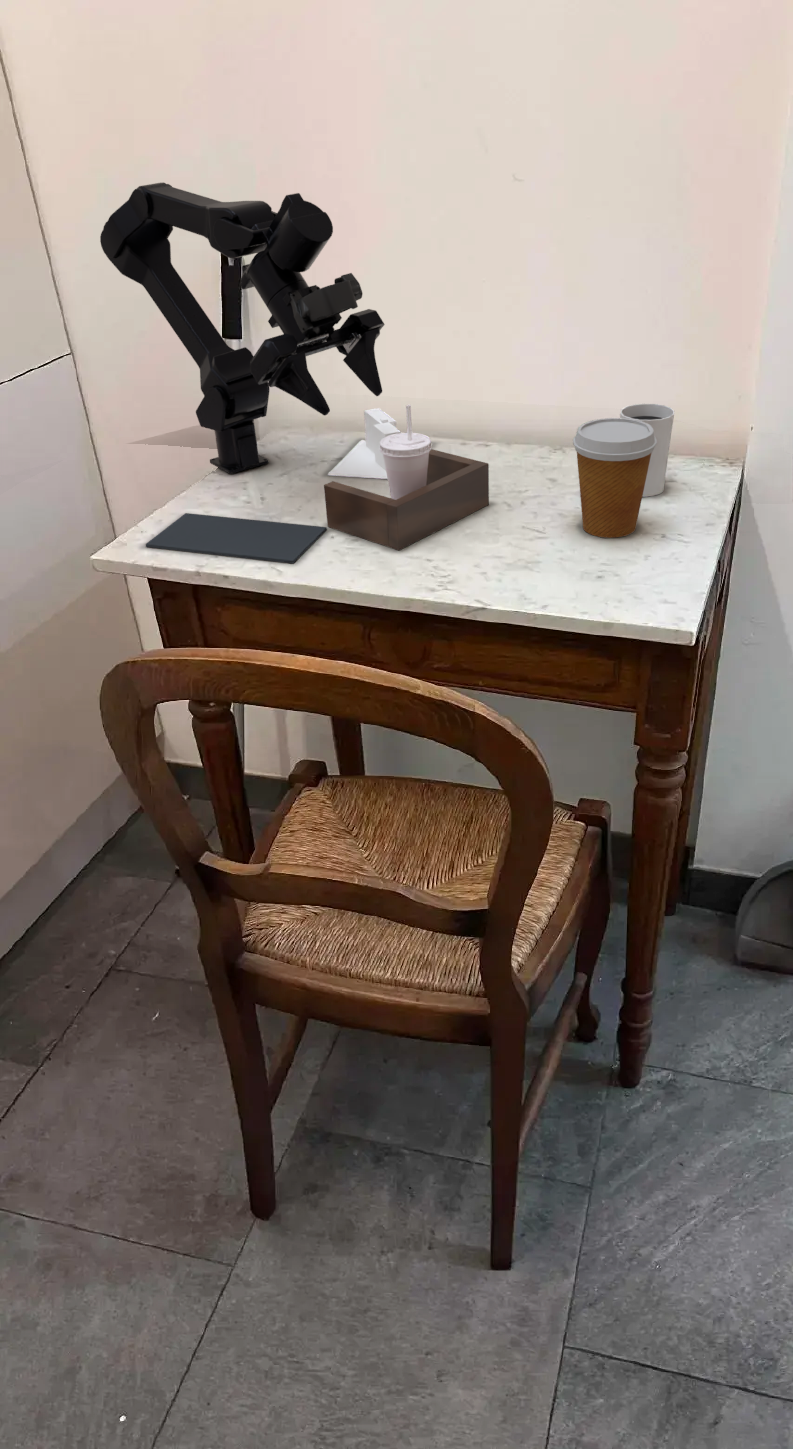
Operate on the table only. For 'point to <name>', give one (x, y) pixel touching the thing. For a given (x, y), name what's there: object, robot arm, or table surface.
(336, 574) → the table surface
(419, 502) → the frame
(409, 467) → the smoothie
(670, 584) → the table surface
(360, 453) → the napkin holder
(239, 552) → the mat
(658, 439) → the white paper cup
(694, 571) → the table surface
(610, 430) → the disposable coffee cup
